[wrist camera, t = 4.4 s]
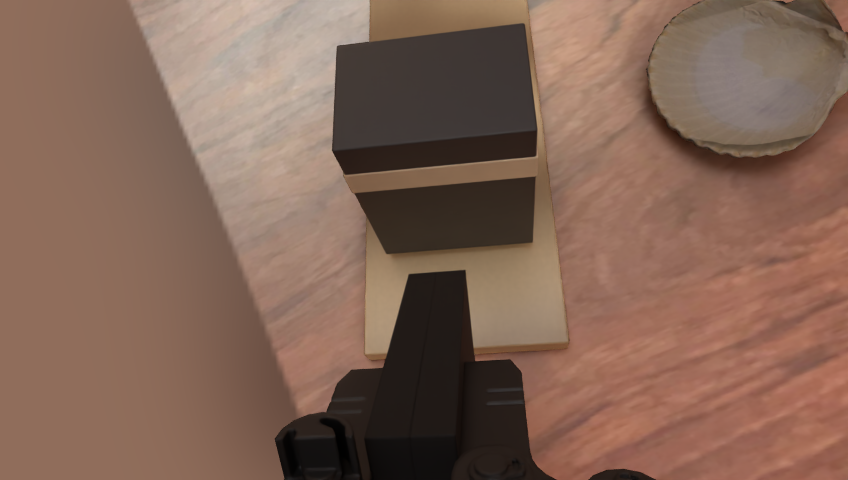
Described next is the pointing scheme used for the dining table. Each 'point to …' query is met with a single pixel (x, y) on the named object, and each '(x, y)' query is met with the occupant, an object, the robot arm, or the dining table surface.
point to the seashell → (749, 74)
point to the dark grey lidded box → (440, 137)
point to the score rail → (485, 266)
